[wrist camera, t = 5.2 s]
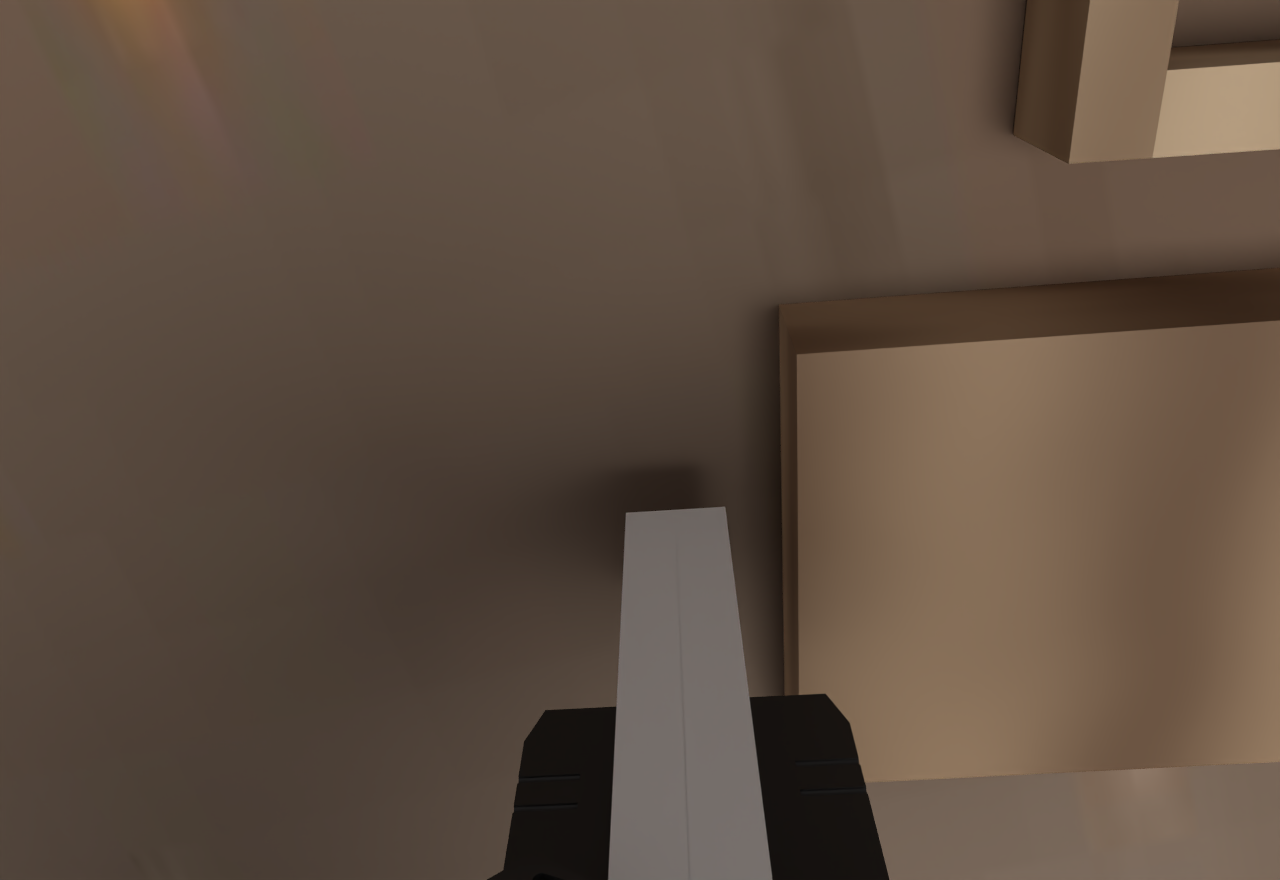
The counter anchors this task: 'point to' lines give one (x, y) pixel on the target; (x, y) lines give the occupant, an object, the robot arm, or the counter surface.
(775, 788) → the robot arm
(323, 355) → the counter surface
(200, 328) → the counter surface
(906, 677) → the board
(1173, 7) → the collar
